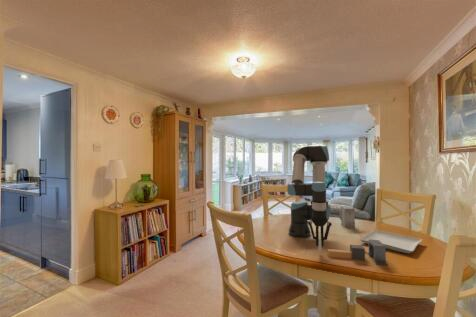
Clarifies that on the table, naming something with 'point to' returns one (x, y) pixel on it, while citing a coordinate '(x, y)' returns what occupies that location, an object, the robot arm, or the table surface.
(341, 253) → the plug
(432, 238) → the table surface
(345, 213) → the circuit breaker
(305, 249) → the table surface
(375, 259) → the housing
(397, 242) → the square plate
